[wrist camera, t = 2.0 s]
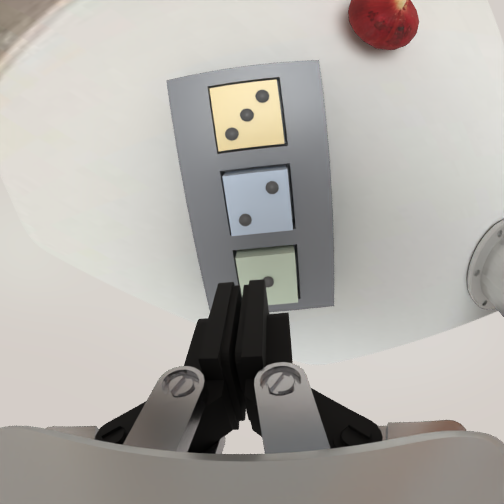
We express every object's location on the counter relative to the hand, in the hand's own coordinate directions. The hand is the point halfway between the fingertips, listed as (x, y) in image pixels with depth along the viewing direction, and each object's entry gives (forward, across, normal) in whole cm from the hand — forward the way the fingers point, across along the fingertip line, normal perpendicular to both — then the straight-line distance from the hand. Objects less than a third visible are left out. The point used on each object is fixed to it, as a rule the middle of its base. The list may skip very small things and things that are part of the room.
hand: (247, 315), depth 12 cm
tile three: (+17, 0, -7) cm, 18 cm away
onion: (+19, -12, -15) cm, 27 cm away
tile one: (+17, 0, +7) cm, 18 cm away
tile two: (+17, 0, 0) cm, 17 cm away
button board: (+19, 0, 0) cm, 19 cm away
